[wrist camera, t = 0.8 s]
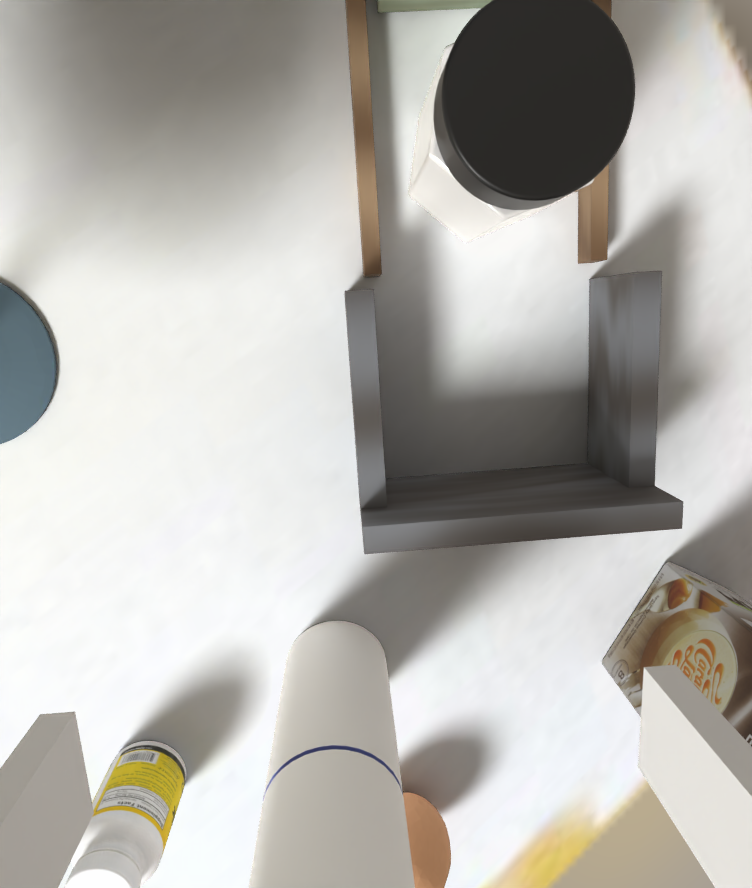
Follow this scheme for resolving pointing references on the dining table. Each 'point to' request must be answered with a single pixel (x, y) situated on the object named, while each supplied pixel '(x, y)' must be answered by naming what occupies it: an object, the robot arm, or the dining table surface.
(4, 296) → the cocktail glass
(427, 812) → the egg
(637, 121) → the dining table surface
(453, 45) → the jar
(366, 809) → the cylindrical container
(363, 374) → the lane
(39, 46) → the dining table surface
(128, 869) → the supplement bottle
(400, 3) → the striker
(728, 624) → the coffee box
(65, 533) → the dining table surface
